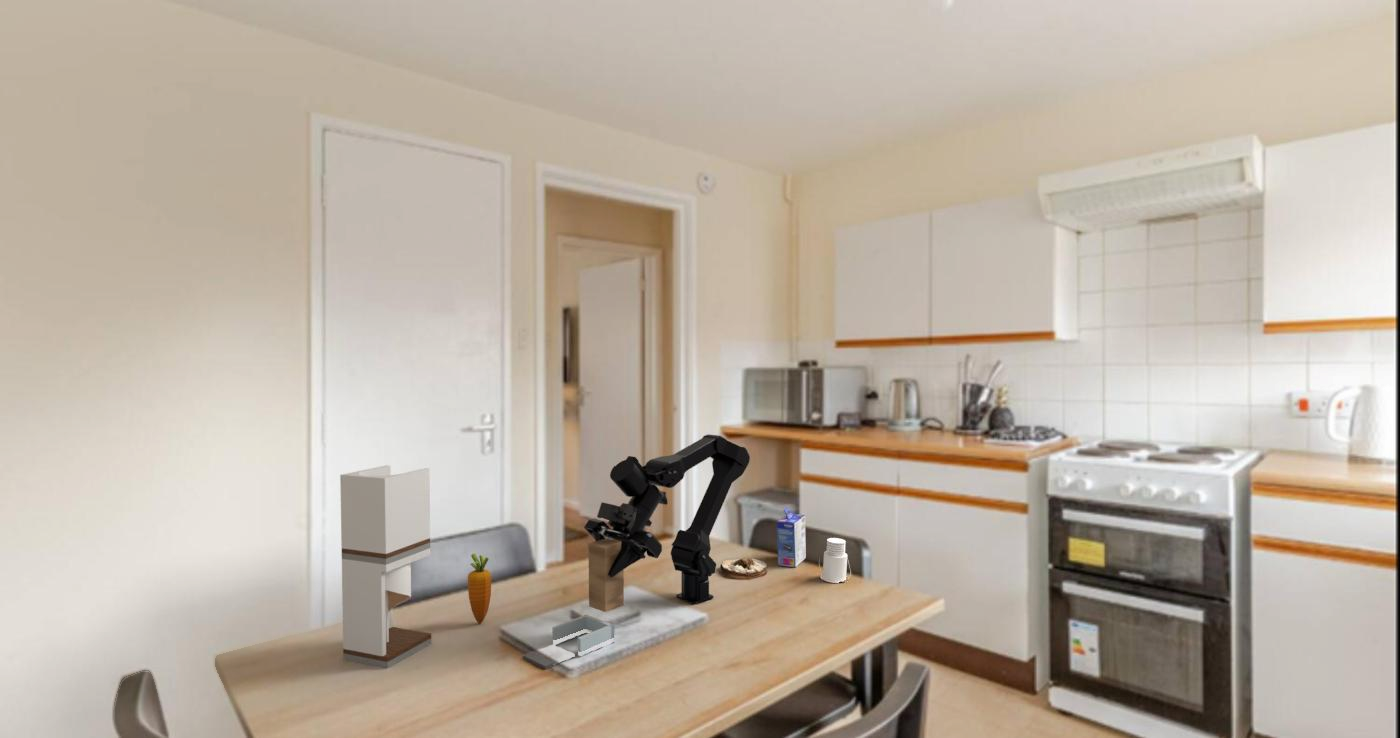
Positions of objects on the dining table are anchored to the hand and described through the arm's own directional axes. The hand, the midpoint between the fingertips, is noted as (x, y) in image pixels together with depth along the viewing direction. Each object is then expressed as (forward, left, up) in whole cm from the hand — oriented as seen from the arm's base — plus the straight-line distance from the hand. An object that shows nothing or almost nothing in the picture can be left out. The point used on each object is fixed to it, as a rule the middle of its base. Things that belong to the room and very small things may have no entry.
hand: (601, 573), depth 143 cm
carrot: (-22, -17, -13) cm, 31 cm away
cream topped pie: (-12, +50, -14) cm, 54 cm away
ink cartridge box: (-10, +66, -13) cm, 68 cm away
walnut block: (0, +1, -7) cm, 7 cm away
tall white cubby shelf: (-20, -36, -13) cm, 43 cm away
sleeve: (+1, -8, -13) cm, 15 cm away
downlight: (+7, +64, -13) cm, 66 cm away
